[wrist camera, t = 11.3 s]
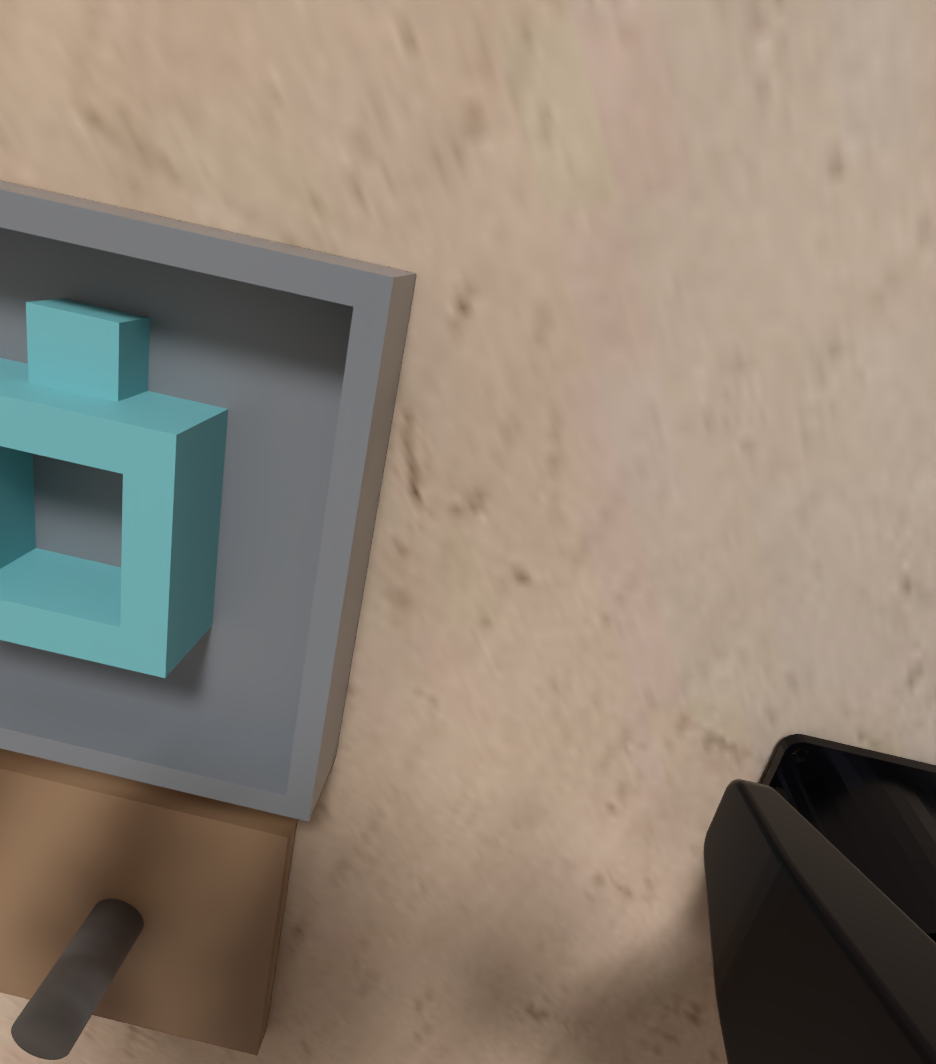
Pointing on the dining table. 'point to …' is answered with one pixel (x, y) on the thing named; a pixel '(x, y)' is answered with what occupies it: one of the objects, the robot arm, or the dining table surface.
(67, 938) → the peg base
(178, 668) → the tray
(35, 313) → the collar
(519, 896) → the dining table surface
